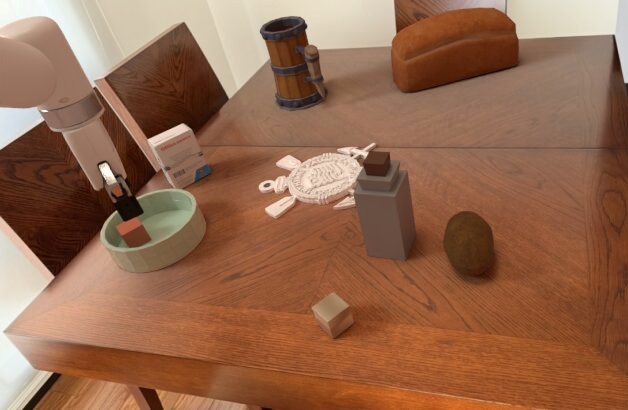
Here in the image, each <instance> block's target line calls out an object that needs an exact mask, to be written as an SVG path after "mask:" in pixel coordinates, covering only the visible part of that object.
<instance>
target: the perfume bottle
mask: <svg viewBox="0 0 628 410" xmlns="http://www.w3.org/2000/svg"><path fill="white" fill-rule="evenodd" d="M400 166H401V160H396V159H391V152H390V151H380V150H379V151H377V150H370V151H369V153H368V155H367V156H366V158H365V159H363V161H362V167H363V168H362V170H361V171H360V173H359V175H358V177H357V178H356V180H357V181H358V183H359V184H358V185H357V187H356V188H355V189H354V190H355V191H354V192H353V195H354V199H355V204H356V206H355V207H356V212H357V216H358V220H359V225H360V229H361V235H362V238H363V242H364V246H365V251H366V256H368V257H375V258H381V259H388V260H389V259H391V260H397V261H407V259H408V256H409V253H410V251H411V248H412V245H413V244H414V240H415V238H416V235H417V229H416V220H415V214H414V208H413V201H412V200H413V199H412V192H411V185H410V179H409V172H408V169H401V168H400ZM353 195H352V196H353Z"/></svg>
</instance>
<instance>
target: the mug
mask: <svg viewBox="0 0 628 410" xmlns="http://www.w3.org/2000/svg"><path fill="white" fill-rule="evenodd" d="M307 30H308V24H307V23H306V20H305V19H304V18H303V17H301V16H298V15H288V16H282V17H278V18H275V19H272V20H271V19H270V20H269V21H267V22H265V23H264V24H262V26H261V27H260V29H259V34H260V35H261V38H262V40H264V42H265V46H266V49H267V52H268V56H269V60H270V68H271V71H272V74H273V78H274V83H275V89H276V93H275V94H274V97H275V98H276V99H275V102H274V103H275V104H276V106H277V107H278V109H280V110H285V111H289V112H292V111H301V110H302V111H303V110H306V109H309V108H312V107H314V106H317V105H319V104H320V103H322V102H323V101H325V100H327V97H328V93H329V90H328V88H326V86H325V84H324V81H325V78H324V76H323V74H322V70H321V69H322V68H321V63H320V53H319V49H318V47H317V46H315V45H314V44H310V43H309V39H308V35H307Z"/></svg>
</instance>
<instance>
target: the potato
mask: <svg viewBox="0 0 628 410" xmlns="http://www.w3.org/2000/svg"><path fill="white" fill-rule="evenodd" d="M494 245H495V243H494V233H493V229H492V227H491V225H490V224H489V222H488V221H486V219H484V218H483V217H482V216H481V215H480V214H478V213H477V212H475V211H471V210H461V211H459V212H456V213H454V214H453V215H452V216H451V217H450V218H449V220H448V222H447V223H446V226H445V230H444V234H443V238H442V247H443V250H444V252H445V254H446V257H447V258H448V260H449V262H450V263H451V264H452V266H453V268H454V269H455V270H456V271H457V272H459V273H461V274H463V275H465V276H470V277H474V276H475V277H476V276H480V275H481V274H483V273H485V272H486V271H487V270H488V269H489V268H490V267H491V265H492V262H493V259H494Z"/></svg>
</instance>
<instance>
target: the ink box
mask: <svg viewBox="0 0 628 410" xmlns="http://www.w3.org/2000/svg"><path fill="white" fill-rule="evenodd" d="M146 141H147V144H148V146H149V147H150V150H151V151H152V153H153V155H154V156H155V159H156V160H157V163H158V165H159V166H160V168H161V170H162V172H163V174H164V177H166V179H167V182H168V183H169V184H170V186H172V188H173V189H182V190H183V189H184V188H186V187H188V186H190V185H192V184H194V183H195V182H197V181H199V180H201V179H203V178H205V177H206V176H208V175H210V174H212V171H211V168H210V166H209V163H208V161H207V159H206V157H205V154H204V152H203V151H202V148H201V146H200V144H199V141H198V139H197V137H196V134H195V133H194V131H193V129H192V128H190V127H189V126H188V125H187V124H185V123H180V124H179V125H176V126H174V127H172V128H170V129H168V130H165V131H163V132H161V133H159V134H157V135H154V136H152V137H150V138H147V140H146Z"/></svg>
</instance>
